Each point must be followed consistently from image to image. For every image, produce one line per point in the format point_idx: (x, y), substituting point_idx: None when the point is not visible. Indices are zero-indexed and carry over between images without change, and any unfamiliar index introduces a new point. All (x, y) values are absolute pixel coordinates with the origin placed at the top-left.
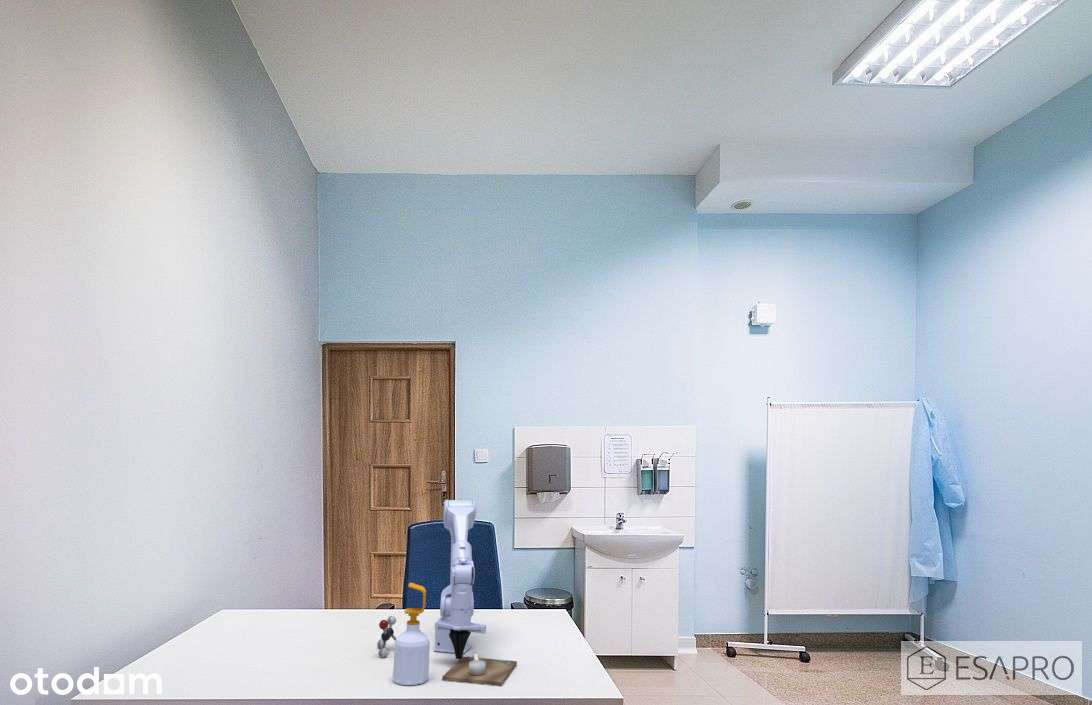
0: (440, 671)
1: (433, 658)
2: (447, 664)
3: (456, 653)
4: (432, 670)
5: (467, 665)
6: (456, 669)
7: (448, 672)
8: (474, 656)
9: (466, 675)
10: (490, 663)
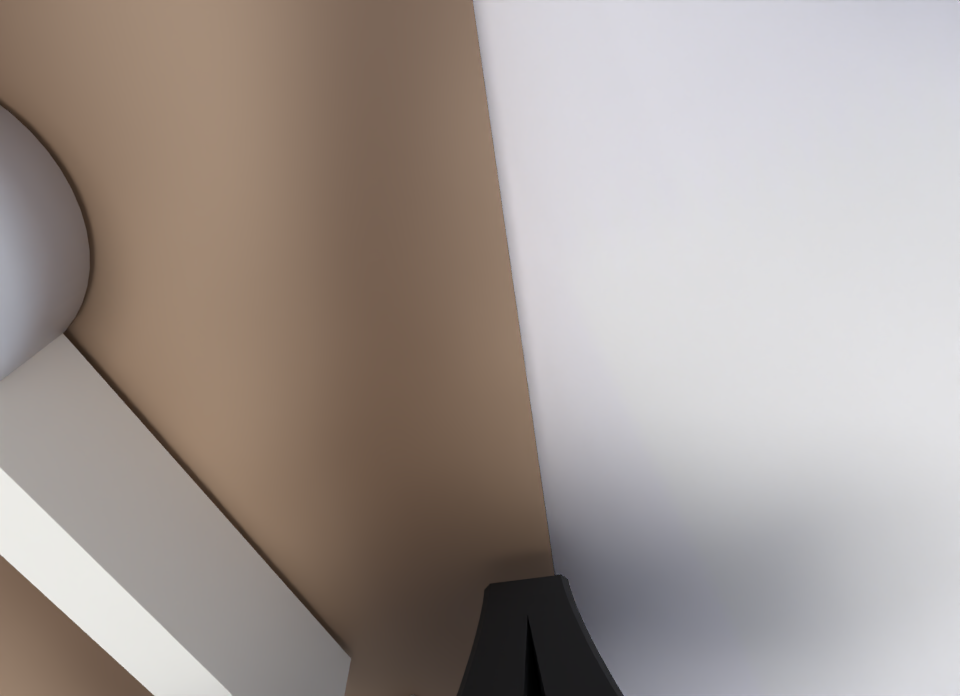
0: (679, 216)
1: (953, 637)
2: (692, 523)
3: (556, 633)
4: (829, 205)
5: (324, 494)
6: (382, 255)
7: (431, 17)
8: (131, 605)
9: (5, 5)
10: (88, 671)
